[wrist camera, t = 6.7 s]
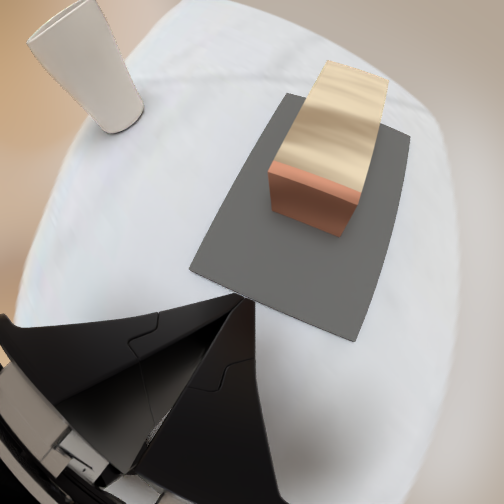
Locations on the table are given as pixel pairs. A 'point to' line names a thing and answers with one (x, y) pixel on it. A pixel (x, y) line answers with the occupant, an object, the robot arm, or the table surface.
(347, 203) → the block
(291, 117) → the mat
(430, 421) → the table surface
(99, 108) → the drinking glass
